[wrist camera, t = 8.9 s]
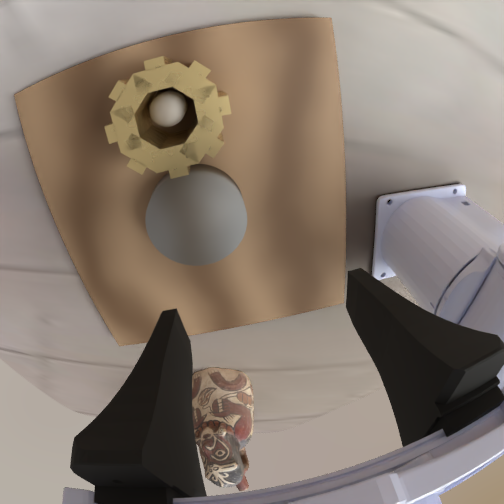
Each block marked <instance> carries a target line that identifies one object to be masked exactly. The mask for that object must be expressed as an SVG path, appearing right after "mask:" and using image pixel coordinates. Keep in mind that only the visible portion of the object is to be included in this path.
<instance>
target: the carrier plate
mask: <svg viewBox="0 0 504 504" xmlns="http://www.w3.org/2000/svg"><path fill="white" fill-rule="evenodd" d="M161 56H164V57H167V58H169V59H171V60H172V63H175V62H180V63H182V64H184V65H185V66H187V67H188V68H189V67H190V66H191V64H192V63H193V62H194V60H195V61H197V62H198V63H200V64H202V65H203V66H205V67H206V68H208V69H210V70H211V71H210V73H209V74H208V75H207V77H206V78H207V79H208V80H210V81H211V82H213V83H214V84H216V87H217V92H221V91H224V92H225V93H226V94H227V95H228V97H229V103H230V109H231V114H229V115H223V116H222V120H223V126H224V128H223V130H222V131H221V133H222V136H223V139H224V144H223V146H222V147H221V149H220V150H219V151H218V153H217V154H216V156H215V157H214V158H212V157H211V156H209V155H207V154H205V155H204V157H203V158H202V159H201V161H200V162H199V164H194V165H190V169H189V175H185V176H181V177H177V178H172V179H171V178H170V174H169V170H168V171H164V172H160V173H156V172H154V171H152V170H150V169H149V168H146V169H145V171H144V173H143V174H142V175H141V174H140V173H138V172H136V171H134V170H132V169H131V168H129V167H127V164H128V163H129V161H130V159H131V158H129V157H127V156H126V155H124V154H122V153H121V152H120V148H119V145H118V141H117V142H114V143H111V144H109V142H108V138H107V135H106V131H105V127H104V126H106V125H108V124H109V123H111V122H112V118H111V114H110V111H111V110H112V108H113V106H114V104H115V103H116V101H115V100H113V99H111V98H109V95H110V94H111V92H112V90H113V88H114V87H115V85H116V83H117V82H118V80H126V79H130V78H131V76H132V75H133V74H134V73H137V72H141V71H144V70H145V66H144V61H146V60H150V59H153V58H157V57H161ZM14 97H15V101H16V105H17V109H18V113H19V117H20V121H21V125H22V129H23V132H24V136H25V139H26V143H27V146H28V149H29V153H30V156H31V159H32V162H33V165H34V168H35V171H36V174H37V177H38V180H39V182H40V185H41V188H42V191H43V193H44V196H45V199H46V201H47V204H48V206H49V209H50V211H51V214H52V216H53V219H54V221H55V223H56V226H57V228H58V230H59V233H60V235H61V237H62V240H63V242H64V244H65V246H66V248H67V251H68V253H69V255H70V257H71V259H72V261H73V263H74V265H75V267H76V269H77V271H78V273H79V275H80V277H81V279H82V281H83V283H84V285H85V287H86V289H87V291H88V293H89V295H90V296H91V298H92V300H93V302H94V304H95V306H96V307H97V309H98V311H99V313H100V315H101V316H102V318H103V320H104V322H105V323H106V325H107V327H108V328H109V330H110V332H111V333H112V335H113V337H114V338H115V340H116V342H117V343H118V345H119V346H124V345H132V344H139V343H146V342H148V341H149V339H150V337H151V334H152V332H153V330H154V328H155V326H156V323H157V321H158V319H159V317H160V314H161V313H162V311H165V310H170V309H176V308H177V311H178V313H179V315H180V318H181V320H182V323H183V325H184V328H185V330H186V332H187V335H188V336H190V335H196V334H202V333H207V332H213V331H218V330H224V329H229V328H234V327H239V326H244V325H249V324H254V323H259V322H264V321H268V320H273V319H278V318H282V317H287V316H291V315H296V314H300V313H304V312H309V311H313V310H317V309H321V308H325V307H330V306H334V305H338V304H342V303H344V288H345V261H346V179H345V152H344V133H343V118H342V105H341V93H340V83H339V73H338V64H337V55H336V47H335V40H334V32H333V25H332V19H331V18H287V19H272V20H260V21H250V22H242V23H234V24H227V25H220V26H214V27H208V28H203V29H197V30H192V31H187V32H183V33H178V34H174V35H169V36H165V37H161V38H157V39H154V40H150V41H146V42H143V43H139V44H136V45H132V46H129V47H126V48H123V49H120V50H116V51H113V52H111V53H108V54H105V55H102V56H99V57H96V58H94V59H91V60H88V61H86V62H83V63H81V64H78V65H76V66H73V67H71V68H69V69H66V70H64V71H62V72H59V73H57V74H55V75H53V76H51V77H48V78H46V79H44V80H42V81H40V82H38V83H36V84H34V85H32V86H30V87H28V88H26V89H24V90H22V91H20V92H18V93H17V94H15V95H14ZM149 111H150V115H151V119H152V124H153V125H155V126H157V127H158V128H160V129H162V130H164V131H165V132H167V133H169V134H170V133H174V132H179V131H183V130H187V129H189V128H190V126H191V125H192V123H193V122H194V120H195V119H196V117H197V114H196V109H195V104H194V99H192V98H190V97H189V96H187V95H185V94H184V93H182V92H180V91H179V90H177V89H175V88H174V87H169V88H165V89H161V90H158V92H157V93H156V95H155V96H154V98H153V99H152V101H151V102H150V104H149Z"/></svg>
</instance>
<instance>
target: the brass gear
mask: <svg viewBox="0 0 504 504" xmlns="http://www.w3.org/2000/svg"><path fill="white" fill-rule="evenodd" d="M144 66H145V70H144V71H141V72H137V73H134V74H133V75H132V76H131V78H130V79H126V80H118V82H117V83H116V85H115V87H114V88H113V90H112V92H111V94H110V95H109V98H111V99H113V100H115V101H116V103H115V104H114V106H113V108H112V110H111V111H110V114H111V118H112V122H111V123H109V124H108V125H106V126H104V127H105V131H106V135H107V138H108V142H109V144H111V143H114V142H117V141H118V145H119V148H120V152H121V153H122V154H124V155H126V156H127V157H129V158H131V159H130V161H129V163H128V164H127V167H129V168H131V169H132V170H134V171H136V172H138V173H140V174H141V175H142V174H143V173H144V171H145V169H146V168H149V169H150V170H152V171H154V172H156V173H160V172H164V171H168V170H169V174H170V178H171V179H172V178H177V177H181V176H185V175H189V169H190V165H194V164H199V162H200V161H201V159H202V158H203V157H204V155H205V154H207V155H209V156H211V157H212V158H214V157H215V156H216V154H217V153H218V151H219V150H220V149H221V147H222V146H223V144H224V139H223V136H222V133H221V131H222V130H223V128H224V126H223V120H222V116H223V115H229V114H231V109H230V103H229V97H228V95H227V94H226V93H225V92H224V91H221V92H217V87H216V84H214V83H213V82H211V81H210V80H208V79H207V78H206V77H207V75H208V74H209V73H210V71H211V70H210V69H208V68H206V67H205V66H203V65H202V64H200V63H198V62H197V61H195V60H194V62H193V63H192V64H191V66H190V67H189V68H188V67H187V66H185V65H184V64H182V63H180V62H175V63H172V60H171V59H169V58H167V57H164V56H161V57H157V58H153V59H150V60H146V61H144ZM169 87H174V88H175V89H177V90H179V91H180V92H182V93H184V94H185V95H187V96H189V97H190V98H192V99H194V104H195V109H196V114H197V117H196V119H195V120H194V122H193V123H192V125H191V126H190V128H189V129H187V130H183V131H179V132H174V133H170V134H169V133H167V132H165V131H164V130H162V129H160V128H158V127H157V126H155V125H153V124H152V119H151V115H150V111H149V104H150V102H151V101H152V99H153V98H154V96H155V95H156V93H157V92H158V90H161V89H165V88H169Z"/></svg>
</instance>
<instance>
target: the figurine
mask: <svg viewBox="0 0 504 504" xmlns="http://www.w3.org/2000/svg"><path fill="white" fill-rule="evenodd" d="M192 414H193V424H194V432H195V439H196V444H197V445H198V446H199V450H200V455H201V458H202V462H203V465H204V469H205V477H206V478H207V479H208V480H210V481H212V482H213V483H214V484H216V485H217V486H220V487H223V488H224V487H232V486H237V488H238V489H239V491H245V490H247V489H248V486H249V485H248V482H247V480H246V477H245V475H244V474H245V472H246V471H247V470H248V468H249V463H248V458H247V455H246V451H245V446H246V445H247V444H248V442H249V440H250V438H251V436H252V433H253V420H254V407H253V390H252V385H251V382H250V380H249V378H248V376H247V375H246V374H245V373H243V372H241V371H236V370H233V369H221V368H216V367H210V368H207V369H205V370H202V371H198V372H195V373H194V375H193V376H192Z"/></svg>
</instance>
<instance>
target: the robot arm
mask: <svg viewBox="0 0 504 504" xmlns="http://www.w3.org/2000/svg"><path fill="white" fill-rule="evenodd" d="M453 190H454V191H453ZM465 193H466V186H465V185H463V184H455V185H448V186H441V187H434V188H427V189H421V190H414V191H408V192H401V193H395V194H389V195H383V196H380V197H379V198H378V199H377V205H376V226H375V242H374V255H373V266H372V275H370V274H369V273H367V272H366V271H364V270H363V269H362V268H360V269H356V270H352V271H348V282H347V300H346V308H347V311H348V313H349V316H350V318H351V321H352V323H353V325H354V327H355V329H356V331H357V333H358V335H359V336H360V338H361V340H362V342H363V344H364V345H365V347H366V349H367V351H368V353H369V354H370V356H371V358H372V360H373V362H374V363H375V365H376V367H377V369H378V371H379V374H380V376H381V379H382V381H383V384H384V386H385V389H386V392H387V394H388V397H389V400H390V403H391V406H392V409H393V412H394V415H395V418H396V422H397V425H398V429H399V433H400V437H401V441H402V445H403V447H402V448H400V449H397V450H395V451H393V452H390V453H388V454H385V455H382V456H380V457H378V458H375V459H372V460H369V461H367V462H364V463H361V464H358V465H355V466H352V467H349V468H346V469H342V470H339V471H336V472H333V473H330V474H326V475H322V476H318V477H315V478H311V479H307V480H303V481H299V482H294V483H290V484H286V485H281V486H276V487H271V488H265V489H260V490H254V491H248V492H241V493H233V494H226V495H216V496H207V495H206V491H205V487H204V483H203V479H202V474H201V469H200V463H199V458H198V452H197V446H196V439H195V432H194V424H193V414H192V353H191V344H190V339H189V337H188V335H187V332H186V330H185V328H184V325H183V323H182V320H181V318H180V315H179V313H178V311H177V308H176V309H170V310H165V311H162V313H161V314H160V317H159V319H158V321H157V323H156V326H155V328H154V330H153V332H152V334H151V337H150V339H149V341H148V343H147V345H146V347H145V349H144V351H143V353H142V355H141V356H140V358H139V360H138V362H137V364H136V365H135V367H134V369H133V371H132V372H131V374H130V375H129V377H128V379H127V380H126V381H125V383H124V384H123V386H122V387H121V389H120V390H119V391H118V393H117V394H116V395H115V397H114V398H113V399H112V400H111V402H110V403H109V404H108V405H107V406H106V408H105V409H104V410H103V411H102V412H101V413H100V414H99V415H98V416H97V417H96V418H95V419H94V420H93V421H92V422H91V423H90V424H89V425H88V426H87V427H86V428H85V429H84V430H82V431H81V432H80V433H79V434H78V435H77V436H76V437H75V438H74V442H73V447H72V456H71V465H70V468H71V469H72V471H73V472H74V473H75V474H77V475H78V476H80V477H81V478H83V479H85V480H86V481H88V482H90V483H91V484H93V485H95V492H93V491H89V490H84V489H75V488H68V487H65V488H64V491H63V504H442V502H441V500H440V498H439V495H441V494H442V493H444V492H446V491H448V490H450V489H451V488H453V487H455V486H456V485H458V484H460V483H461V482H463V481H465V480H466V479H468V478H469V477H471V476H473V475H474V474H476V473H477V472H479V471H480V470H482V469H483V468H485V467H486V466H488V465H489V464H490V463H492V462H493V461H495V460H496V459H497V458H499V457H500V456H502V455H503V454H504V223H502V222H501V221H500V220H498V219H497V218H496V217H494V216H493V215H492V214H490V213H489V212H488V211H486V210H485V209H483V208H482V207H481V206H479V205H478V204H476V203H475V202H473V201H472V200H471V199H469V198H468V197H466V196H465ZM389 199H390V202H389V203H387V201H388V200H389ZM382 273H383V274H382ZM381 274H382V275H381ZM392 276H397V277H398V278H399V279H400V281H401V282H402V283H403V285H404V286H405V287H406V289H407V290H408V291H409V292H410V294H411V295H412V296H413V298H414V299H415V300H416V302H417V303H418V304H419V306H420V307H419V306H417V305H415V304H414V303H412V302H410V301H409V300H407V299H405V298H404V297H402V296H401V295H399V294H398V293H396V292H395V291H393V290H392V289H390V288H389V287H387V286H386V285H384V284H383V283H382V282H380V281H379V280H381V279H385V278H389V277H392ZM393 471H394V472H393ZM390 472H391V473H390Z"/></svg>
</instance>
